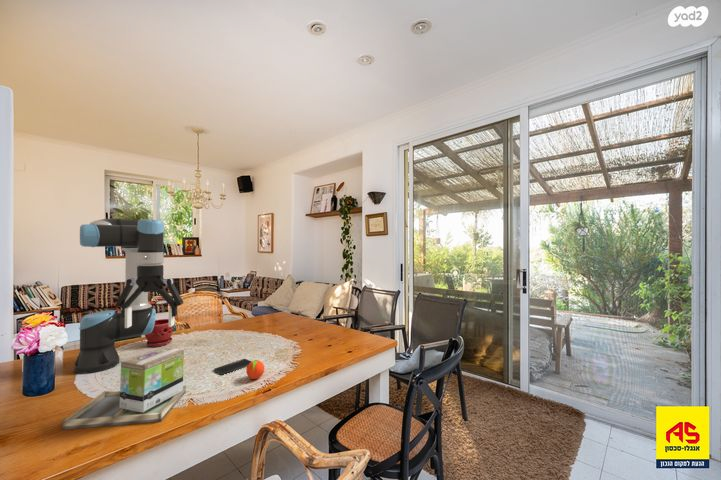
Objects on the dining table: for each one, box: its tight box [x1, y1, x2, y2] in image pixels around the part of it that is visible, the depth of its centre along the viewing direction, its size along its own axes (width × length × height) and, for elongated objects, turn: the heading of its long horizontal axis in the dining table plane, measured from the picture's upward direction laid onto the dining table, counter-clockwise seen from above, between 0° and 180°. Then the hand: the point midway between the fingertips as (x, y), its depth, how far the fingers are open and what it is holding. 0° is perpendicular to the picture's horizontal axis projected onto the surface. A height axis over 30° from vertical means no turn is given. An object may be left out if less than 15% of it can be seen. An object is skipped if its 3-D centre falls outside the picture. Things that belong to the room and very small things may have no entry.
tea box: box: [119, 346, 185, 413], centre depth 103 cm, size 15×10×15 cm, turn 164°
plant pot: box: [144, 318, 174, 348], centre depth 165 cm, size 13×13×12 cm
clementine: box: [245, 359, 265, 380], centre depth 124 cm, size 8×7×7 cm
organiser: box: [61, 385, 187, 431], centre depth 101 cm, size 26×19×2 cm
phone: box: [213, 358, 253, 376], centre depth 135 cm, size 8×1×15 cm
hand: (150, 326), depth 107 cm, fingers open, 13 cm apart
